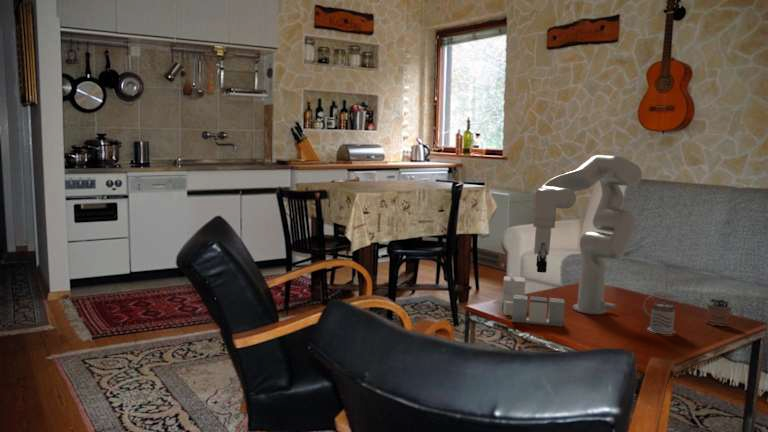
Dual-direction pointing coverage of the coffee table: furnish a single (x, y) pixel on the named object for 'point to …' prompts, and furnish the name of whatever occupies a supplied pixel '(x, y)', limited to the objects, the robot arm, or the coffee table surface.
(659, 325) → the french press
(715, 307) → the lighter
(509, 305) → the block
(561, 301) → the grey u-shaped block
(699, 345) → the coffee table surface
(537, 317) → the module
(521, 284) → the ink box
